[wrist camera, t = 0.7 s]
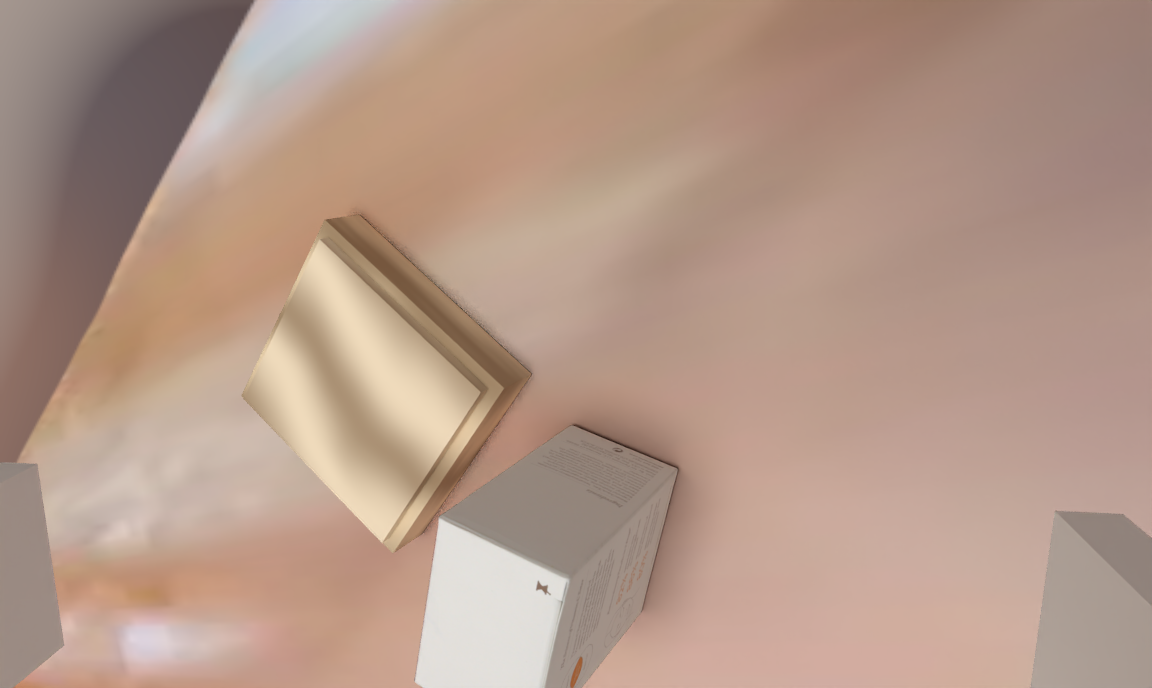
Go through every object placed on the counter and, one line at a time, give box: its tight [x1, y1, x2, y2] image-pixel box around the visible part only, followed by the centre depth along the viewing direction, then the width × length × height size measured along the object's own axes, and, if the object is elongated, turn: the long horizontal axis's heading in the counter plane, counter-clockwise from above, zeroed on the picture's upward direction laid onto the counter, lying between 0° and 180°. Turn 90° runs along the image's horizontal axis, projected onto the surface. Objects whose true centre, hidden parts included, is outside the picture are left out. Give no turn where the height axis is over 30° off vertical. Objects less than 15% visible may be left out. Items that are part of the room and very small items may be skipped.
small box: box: [414, 425, 678, 688], centre depth 36 cm, size 8×6×10 cm
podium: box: [242, 215, 532, 553], centre depth 43 cm, size 12×12×3 cm
